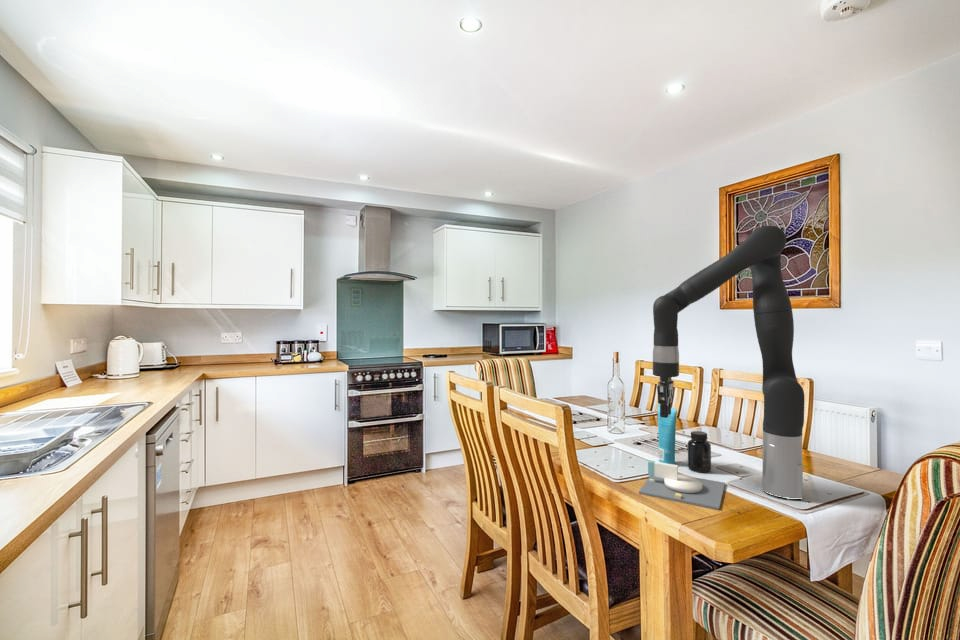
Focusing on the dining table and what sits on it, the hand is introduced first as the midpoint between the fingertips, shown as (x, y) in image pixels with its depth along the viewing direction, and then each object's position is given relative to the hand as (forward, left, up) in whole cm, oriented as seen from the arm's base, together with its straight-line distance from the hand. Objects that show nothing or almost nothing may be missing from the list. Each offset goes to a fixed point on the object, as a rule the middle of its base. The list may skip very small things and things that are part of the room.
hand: (665, 415), depth 139 cm
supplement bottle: (-8, -13, -19) cm, 25 cm away
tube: (+2, -14, -19) cm, 24 cm away
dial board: (-6, +7, -19) cm, 21 cm away
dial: (-4, +7, -18) cm, 20 cm away
